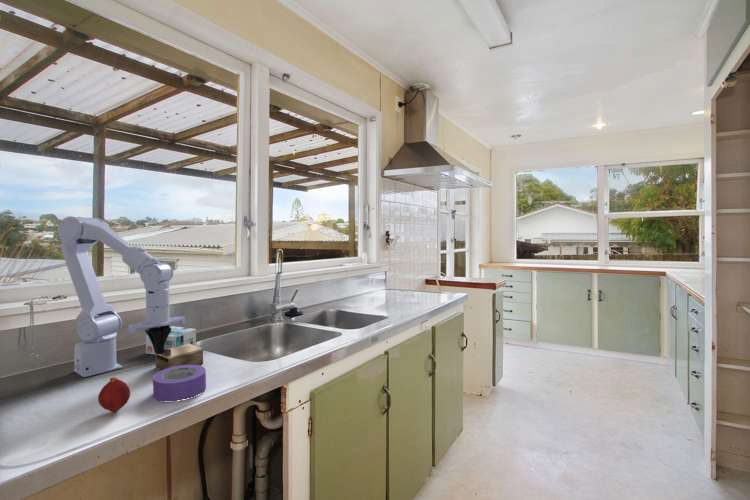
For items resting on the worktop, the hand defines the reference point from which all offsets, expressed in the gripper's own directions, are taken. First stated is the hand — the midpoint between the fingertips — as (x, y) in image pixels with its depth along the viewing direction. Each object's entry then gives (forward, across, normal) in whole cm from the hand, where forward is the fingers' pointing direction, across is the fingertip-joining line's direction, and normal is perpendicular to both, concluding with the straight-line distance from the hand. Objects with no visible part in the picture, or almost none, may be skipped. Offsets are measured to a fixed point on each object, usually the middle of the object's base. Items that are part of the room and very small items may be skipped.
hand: (158, 353), depth 108 cm
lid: (+1, +6, 0) cm, 6 cm away
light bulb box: (+2, +17, +18) cm, 25 cm away
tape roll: (+6, -3, -18) cm, 19 cm away
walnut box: (+5, +6, 0) cm, 8 cm away
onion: (+6, -17, -17) cm, 25 cm away
